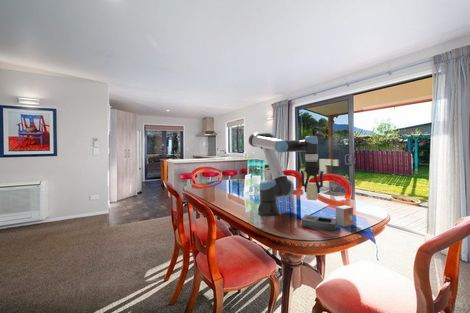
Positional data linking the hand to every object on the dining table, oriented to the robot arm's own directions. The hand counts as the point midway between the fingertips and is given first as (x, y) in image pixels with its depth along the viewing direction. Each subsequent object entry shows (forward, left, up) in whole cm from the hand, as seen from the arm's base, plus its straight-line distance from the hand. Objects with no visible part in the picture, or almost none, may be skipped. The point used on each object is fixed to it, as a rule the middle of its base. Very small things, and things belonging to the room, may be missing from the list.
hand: (312, 197), depth 129 cm
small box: (+18, +2, -15) cm, 23 cm away
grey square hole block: (+5, -8, -15) cm, 17 cm away
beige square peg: (0, 0, -1) cm, 1 cm away
